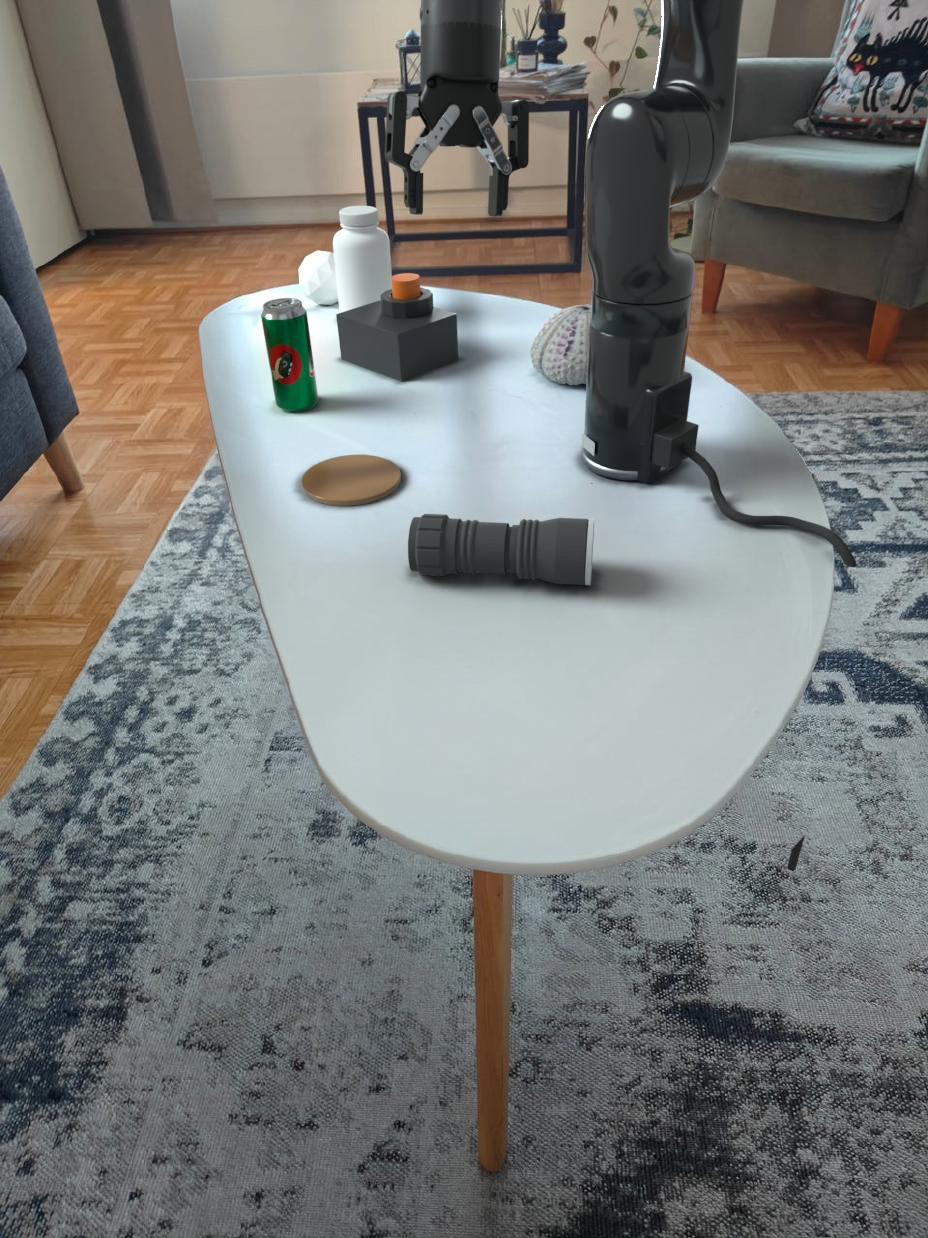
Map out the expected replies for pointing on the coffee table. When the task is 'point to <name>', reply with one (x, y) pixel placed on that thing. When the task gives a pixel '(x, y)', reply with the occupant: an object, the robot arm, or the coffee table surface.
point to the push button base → (398, 336)
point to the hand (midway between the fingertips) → (456, 215)
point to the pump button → (406, 286)
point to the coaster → (351, 480)
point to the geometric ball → (319, 278)
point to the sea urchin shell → (564, 346)
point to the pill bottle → (361, 258)
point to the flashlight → (503, 548)
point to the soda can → (289, 354)
